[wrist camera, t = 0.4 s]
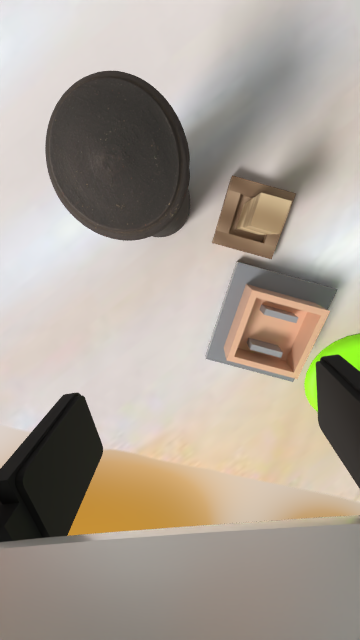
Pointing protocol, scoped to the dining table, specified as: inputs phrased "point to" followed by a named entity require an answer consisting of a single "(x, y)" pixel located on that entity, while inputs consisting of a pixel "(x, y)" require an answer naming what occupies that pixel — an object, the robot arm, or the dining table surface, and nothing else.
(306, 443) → the dining table surface
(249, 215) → the tan wooden bar
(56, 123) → the container
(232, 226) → the brown square tray
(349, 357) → the wineglass
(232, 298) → the grey base square tray
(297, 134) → the dining table surface
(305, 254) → the dining table surface
